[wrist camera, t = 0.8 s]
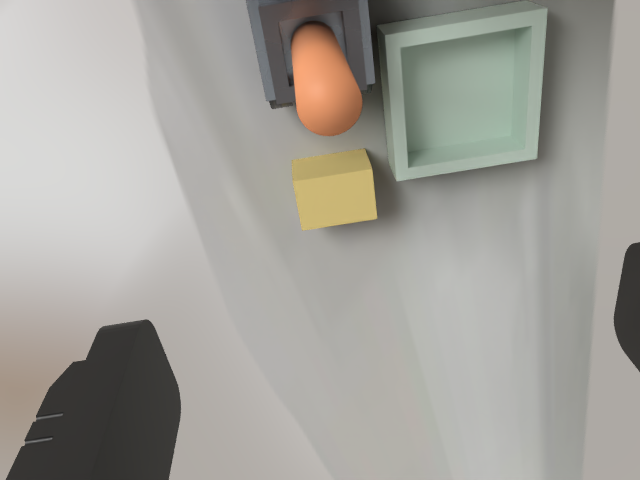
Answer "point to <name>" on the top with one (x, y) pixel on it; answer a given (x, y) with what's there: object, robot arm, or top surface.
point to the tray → (462, 88)
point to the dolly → (279, 25)
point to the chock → (334, 189)
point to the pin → (323, 81)
